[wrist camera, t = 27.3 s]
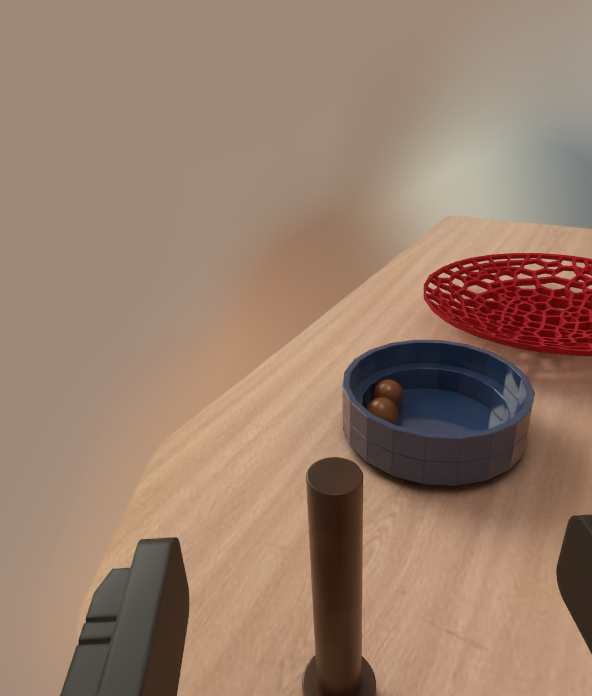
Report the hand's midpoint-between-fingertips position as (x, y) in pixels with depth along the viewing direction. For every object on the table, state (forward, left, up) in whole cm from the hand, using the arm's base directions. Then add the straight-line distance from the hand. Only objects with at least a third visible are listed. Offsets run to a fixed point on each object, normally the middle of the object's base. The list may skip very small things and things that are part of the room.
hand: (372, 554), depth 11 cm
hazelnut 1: (+1, +37, -20) cm, 43 cm away
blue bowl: (+5, +35, -23) cm, 42 cm away
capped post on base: (-2, +10, -23) cm, 25 cm away
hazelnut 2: (0, +34, -20) cm, 40 cm away
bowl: (+20, +57, -23) cm, 64 cm away
